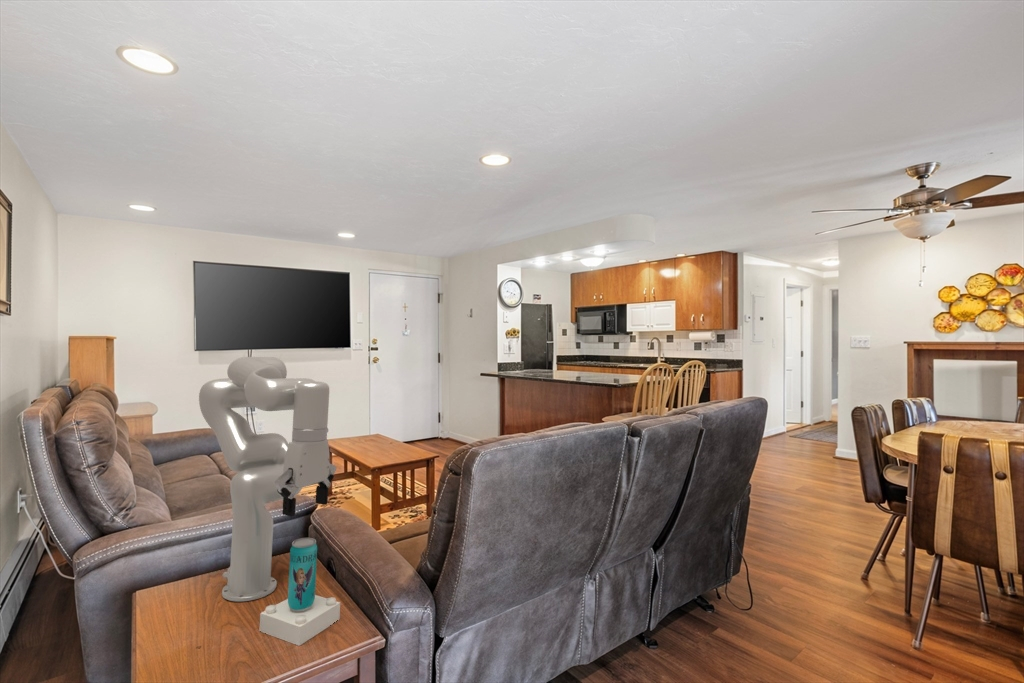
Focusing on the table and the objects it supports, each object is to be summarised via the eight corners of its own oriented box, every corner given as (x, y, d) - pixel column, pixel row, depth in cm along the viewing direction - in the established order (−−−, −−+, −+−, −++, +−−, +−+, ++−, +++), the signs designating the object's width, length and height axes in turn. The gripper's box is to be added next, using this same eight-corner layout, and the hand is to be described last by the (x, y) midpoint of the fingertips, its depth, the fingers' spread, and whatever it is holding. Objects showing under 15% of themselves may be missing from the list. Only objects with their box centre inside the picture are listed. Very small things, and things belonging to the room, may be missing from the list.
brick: (259, 631, 113) (260, 608, 113) (301, 607, 124) (302, 586, 124) (299, 645, 108) (300, 622, 108) (339, 619, 119) (340, 598, 119)
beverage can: (287, 615, 112) (290, 547, 112) (287, 603, 117) (290, 538, 118) (315, 611, 114) (318, 544, 115) (313, 599, 120) (316, 535, 120)
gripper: (325, 428, 126) (321, 497, 126) (266, 438, 110) (261, 517, 110) (348, 432, 123) (344, 502, 123) (291, 442, 107) (287, 523, 107)
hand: (305, 509), depth 116 cm, fingers open, 9 cm apart
